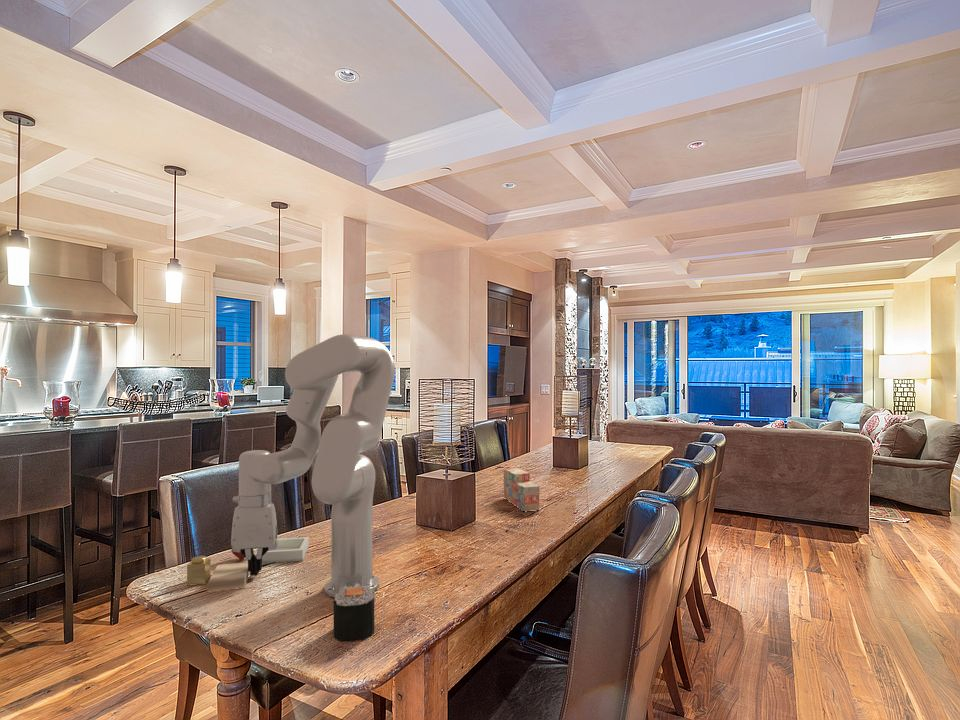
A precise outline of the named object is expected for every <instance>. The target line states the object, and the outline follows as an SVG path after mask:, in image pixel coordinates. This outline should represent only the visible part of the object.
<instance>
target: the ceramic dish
mask: <svg viewBox="0 0 960 720" xmlns="http://www.w3.org/2000/svg"><path fill="white" fill-rule="evenodd" d="M276 540H277V544H278V547H277V548H276V549H274V550H271V551H267V552H266V553H265V554H264V555H263V556H262V563H266V564H272V563H271V562H281V563H293V562H294V561H295V562H303V561H304V559H305V556H306V554H307V553H306V552H308V551H309V547H310V537H309V536H305V537H291V538H290V537H288V538H285V537H284V538H277V539H276Z"/></svg>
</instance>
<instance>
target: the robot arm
mask: <svg viewBox="0 0 960 720" xmlns="http://www.w3.org/2000/svg"><path fill="white" fill-rule="evenodd" d="M284 370H285V371H284V377H285V381H286V383H287V384H288V385H289V387H290V388H292V389H293V391H292V394H291V396H290V398H289V400H288V404H287V405H286V408H285V412H286V415H287V416H288V418H290V419H291V420H293V421H295V425H296V431H295V434H294V438H293V441H292V443H291V444H290V447H289V448H287V449H283V450H280V451H276V452H272V453H271V452H270V451H268V450H266V449H265V450H264V449H252V450H247V451H244V452H242V453H240V455H239V458H238V495H236V496H233V497H232V503H237V506H236V507H235V508H234V511H233V517H232V526H231V536H230V538H231V539H230V547H231V546H232V550H231V552H232V551H233V552H238V553H239V552H240V553H242V554H243V555H244V556H245V557H246V558H245V559H246V560H247V562H248V571H250V574H249V577H252V576H258V575H259V573H260V572H261V571H262V569H263V564H262V556H263V555H264V554H265V553H266V552H267V551H271V550H274V549H276V548H277V547H278V544H277V540H276V539H278V524H277V523H278V522H277V513H276V507H275V504H274V503H273V502H272V485H279V484H282V483H284V482H288V481H289V480H293V479H295V478H299V477H301V476H303V475H304V474H305V473H307V472H308V471H309V470H310V468H311V466H312V464H313V462H314V465H313V469H312V474H311V488H312V492H313V495H314V496H315V498H316V499H317V500H318V501H319V502H321V503H323V504H325V505H332V508H331V521H330V528H331V529H330V531H331V533H330V535H331V536H330V537H331V540H330V541H331V542H330V543H331V548H330V550H331V553H330V554H331V555H330V556H331V557H330V559H331V560H330V561H331V562H330V567H331V575H330V576H331V578H330V579H329V580H327V581H326V583H325V584H324V593H325V594H326V595H327V596H329V597H332V598H334V596H335V595H337V593H338V592H339V591H340V590H341V591H342V588H343V589H346V588H347V587H350V586H352V588H353V587H354V586H356V587H358V584H359V585H360V586H362V585H363V586H368V587H369V588H370V589H371V588H373V590H374V591H375V592H376V590H377V589H378V588H379V586H380V580H379V578H378V577H377V576H376V575H374V574H373V503H374V502H373V500H374V493H375V492H374V491H375V486H376V469H375V466H374V464H373V462H372V460H371V459H370V458H369V457H367V456H366V455H363V454H361V453H364V452H366V451H370V449H373V448H374V447H375V446H376V445H377V444H378V443H379V441H380V438H381V434H382V429H383V426H384V421H385V417H386V413H387V408H388V405H389V400H390V395H391V392H392V388H393V385H394V380H395V375H396V373H395V372H396V366H395V360H394V357H393V355H392V353H391V351H390V350H389V349H388V347H386V345H384V344H383V343H382V342H381V341H379V340H377V339H375V338H372V337H370V336H365V335H355V334H347V333H345V334H344V333H343V334H339V335H338V334H337V335H333V336H332V337H329V338H327V339H325V340H323V341H321V342H319V343H317V344H316V345H313V346H311V347H309V348H307V349H305V350H303V351H301V352H299V353H297V354H295V355H294V356H292V358H291V359H290V360H289V361H288V363H287V365H286V367H285V369H284ZM348 372H349V373H350V372H351V373H352V372H359V373H360V376H359V380H358V381H357V383H356V385H355V387H354V389H353V392H352V397H351V401H350V405H349V407H348V410H347V412H346V413H342V414H338V415H336V416H334V417H333V418H332V419H330V420H329V421H328V422H327V424H326V425H325V427H324V429H323V431H322V428H321V419H322V416H323V414H324V411H325V408H326V407H327V404H328V402H329V400H330V398H331V396H332V392H333V390H334V389H335V386H336V383H337V380H338V378H339V375H342V374H343V373H348ZM314 460H315V461H314ZM253 548H254V549H256V555H255V550H254V549H253Z"/></svg>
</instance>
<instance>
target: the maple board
mask: <svg viewBox="0 0 960 720" xmlns="http://www.w3.org/2000/svg"><path fill="white" fill-rule="evenodd" d="M211 574H212V575H210V579H209V580H208V581H207V582H206V584H207V585H206V586H207V587H206V588H207V590H206V592H208V593H210V592H209V591H216V592H219V591H218V590H225V591H230V590H229V589H233V590H237V589H236V588H242V589H245V588H246V585H245V584H247V583H246V582H248V580H247V579H249V577H250V571H248V561H243V562H234V563H224V564H217V565H216V567H215V569H214V570H213V572H212V573H211ZM248 576H249V577H248ZM244 587H245V588H244Z"/></svg>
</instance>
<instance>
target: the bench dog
mask: <svg viewBox="0 0 960 720" xmlns="http://www.w3.org/2000/svg"><path fill="white" fill-rule="evenodd" d="M186 572H187V573H186V585H189V586H192V585H191V584H203V585H205V583H206V584H207V583H208V581H209V580H208V579H209V578H211V557H207V556H206V555H197V556H194V557H192V558H191V560H190V561H189V563H187V565H186Z"/></svg>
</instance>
